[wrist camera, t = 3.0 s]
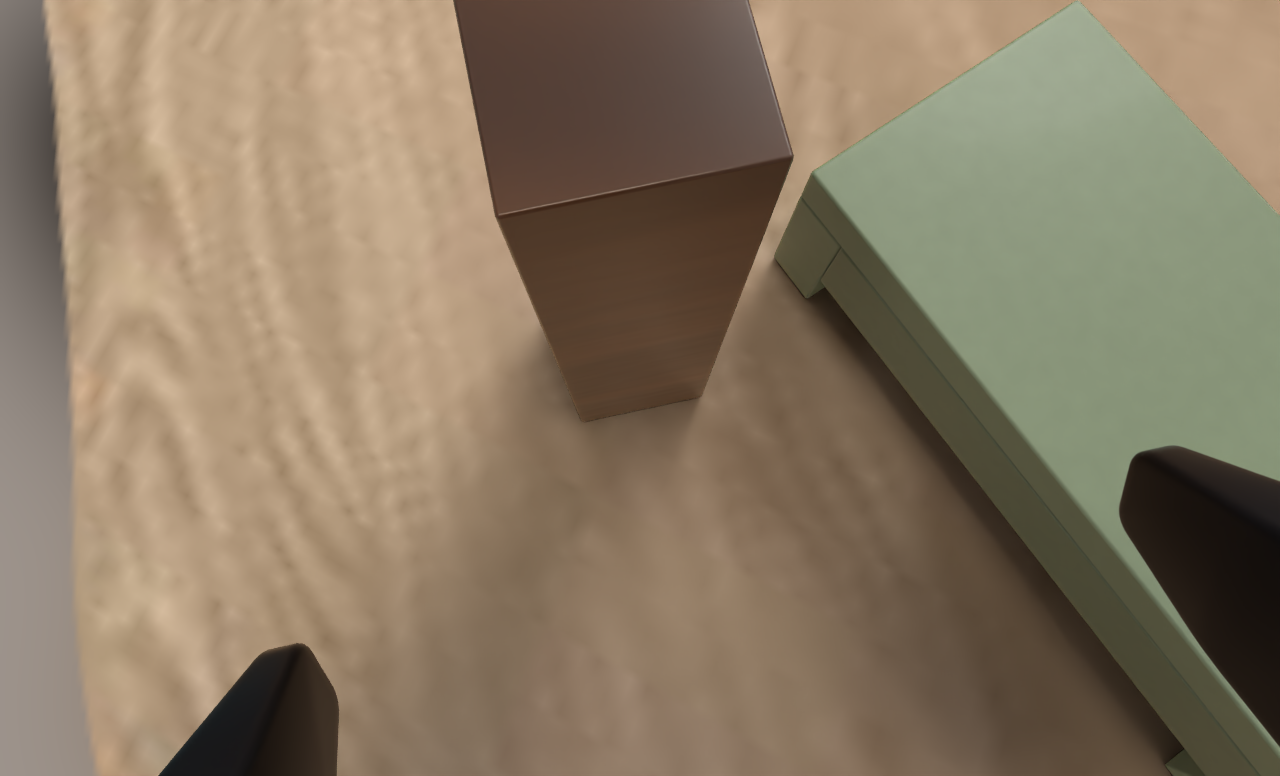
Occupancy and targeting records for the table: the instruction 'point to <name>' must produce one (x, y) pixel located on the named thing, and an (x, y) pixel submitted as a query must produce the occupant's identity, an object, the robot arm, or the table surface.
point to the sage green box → (1068, 322)
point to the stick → (627, 179)
